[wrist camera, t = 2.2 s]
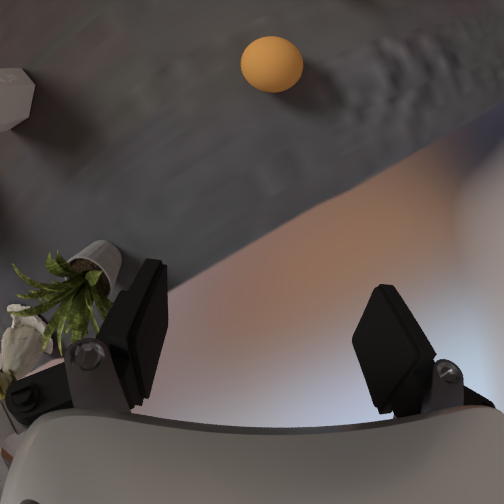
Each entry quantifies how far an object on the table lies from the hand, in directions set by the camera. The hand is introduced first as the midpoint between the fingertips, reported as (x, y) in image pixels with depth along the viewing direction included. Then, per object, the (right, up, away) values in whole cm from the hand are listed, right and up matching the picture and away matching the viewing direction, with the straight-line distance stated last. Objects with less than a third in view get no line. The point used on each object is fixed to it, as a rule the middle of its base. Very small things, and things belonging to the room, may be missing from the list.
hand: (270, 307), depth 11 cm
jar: (-33, +23, +14) cm, 43 cm away
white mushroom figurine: (-45, -13, +34) cm, 58 cm away
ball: (+1, +20, +13) cm, 24 cm away
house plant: (-22, +2, +26) cm, 34 cm away
